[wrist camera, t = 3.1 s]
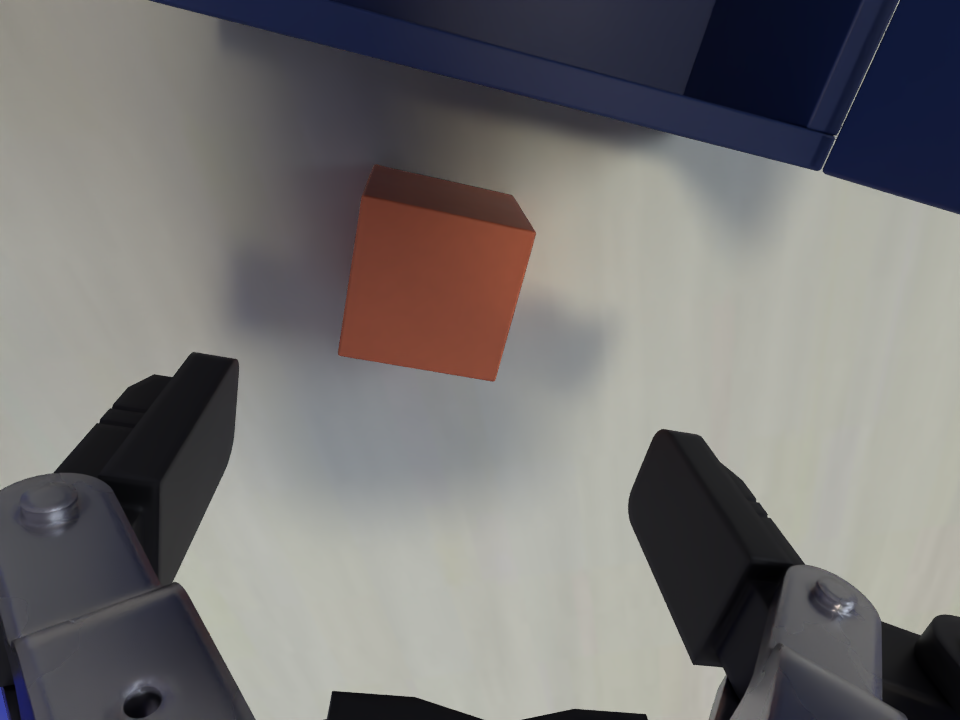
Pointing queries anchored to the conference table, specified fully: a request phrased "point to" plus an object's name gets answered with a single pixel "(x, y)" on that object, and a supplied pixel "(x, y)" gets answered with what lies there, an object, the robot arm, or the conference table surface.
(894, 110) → the case lid
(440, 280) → the cube
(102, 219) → the conference table surface
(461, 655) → the conference table surface
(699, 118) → the case
